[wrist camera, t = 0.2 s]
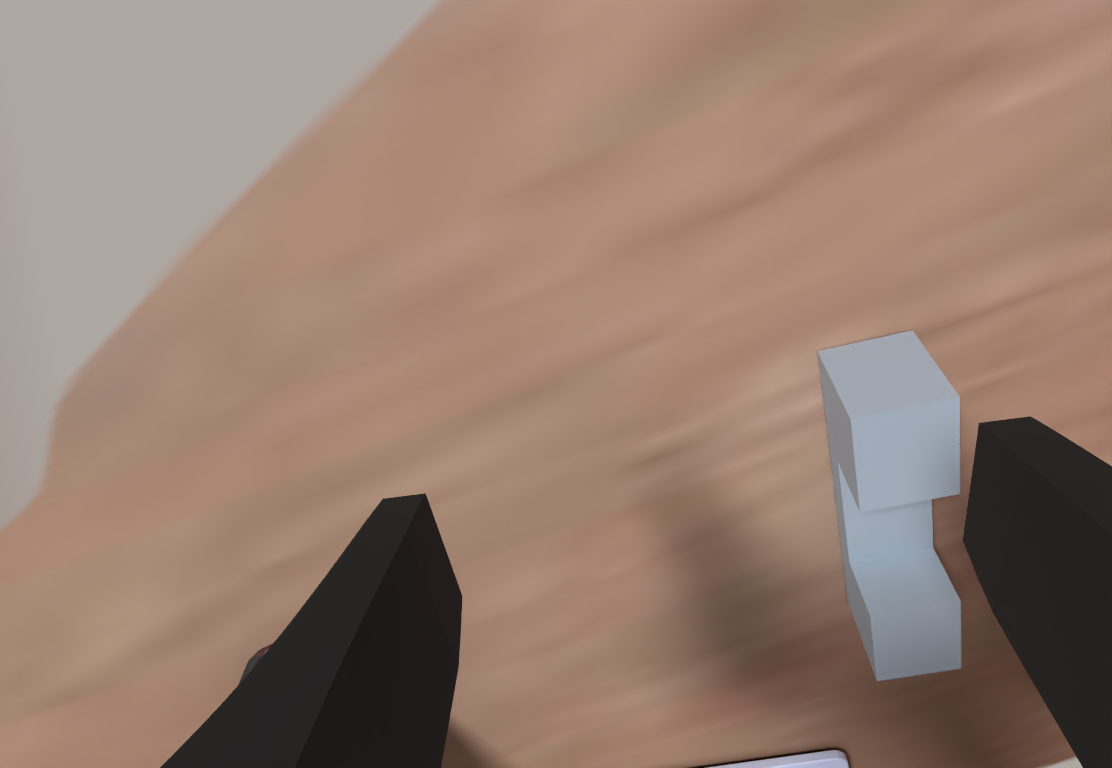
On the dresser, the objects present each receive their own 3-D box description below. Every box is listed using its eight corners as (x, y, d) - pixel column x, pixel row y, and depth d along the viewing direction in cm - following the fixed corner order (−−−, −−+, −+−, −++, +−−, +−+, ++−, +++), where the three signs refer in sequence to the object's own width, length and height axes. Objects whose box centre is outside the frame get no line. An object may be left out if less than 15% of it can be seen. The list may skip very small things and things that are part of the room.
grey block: (923, 589, 26) (961, 668, 23) (847, 602, 26) (876, 681, 24) (912, 330, 20) (959, 397, 18) (817, 351, 21) (850, 419, 18)
